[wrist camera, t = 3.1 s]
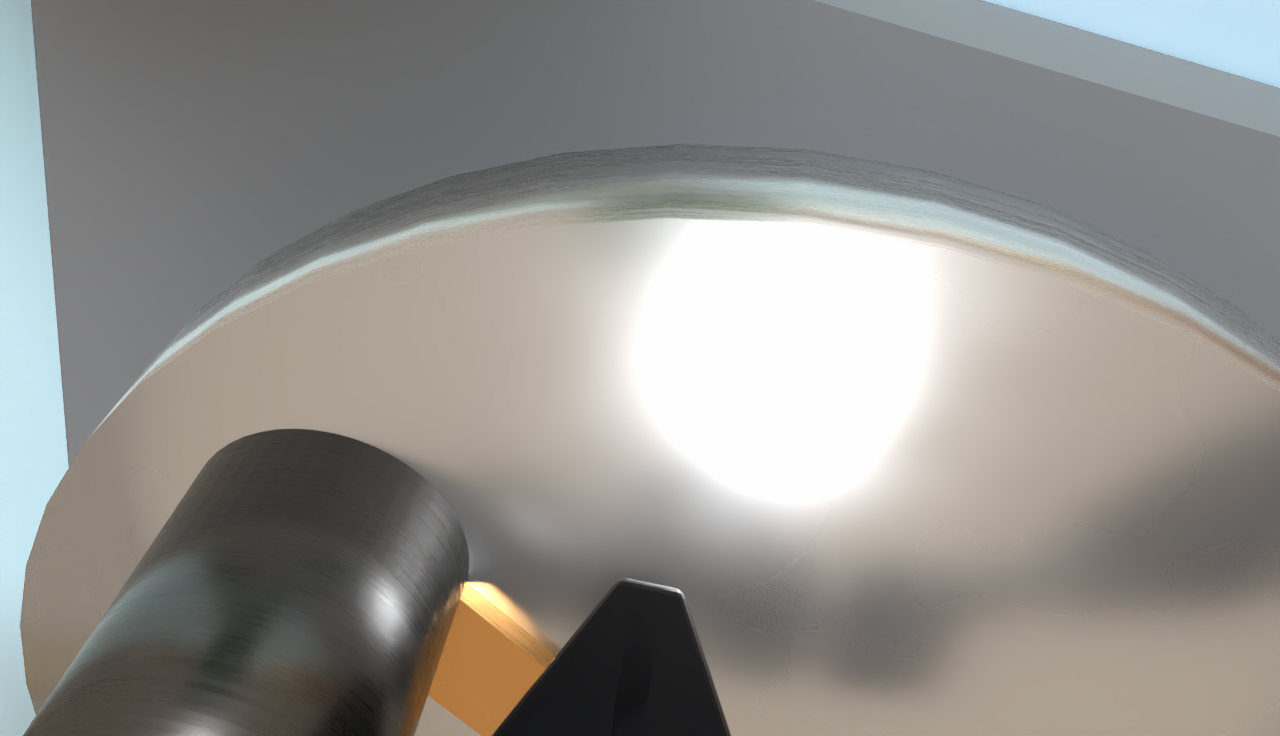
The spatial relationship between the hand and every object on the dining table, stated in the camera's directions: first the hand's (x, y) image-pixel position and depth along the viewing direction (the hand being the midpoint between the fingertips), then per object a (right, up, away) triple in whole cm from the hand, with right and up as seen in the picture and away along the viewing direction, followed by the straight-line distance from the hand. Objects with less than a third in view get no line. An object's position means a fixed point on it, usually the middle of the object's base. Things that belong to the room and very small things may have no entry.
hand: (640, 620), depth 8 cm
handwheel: (+1, -2, +4) cm, 5 cm away
